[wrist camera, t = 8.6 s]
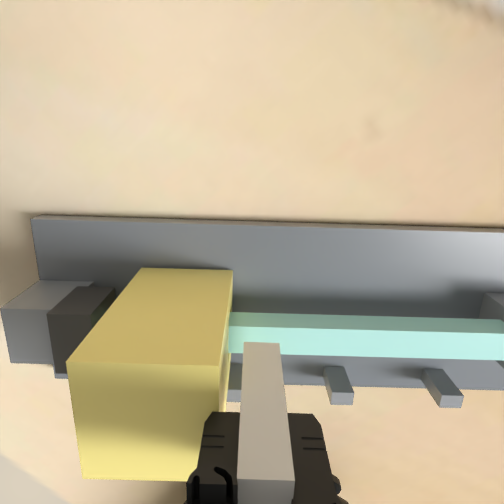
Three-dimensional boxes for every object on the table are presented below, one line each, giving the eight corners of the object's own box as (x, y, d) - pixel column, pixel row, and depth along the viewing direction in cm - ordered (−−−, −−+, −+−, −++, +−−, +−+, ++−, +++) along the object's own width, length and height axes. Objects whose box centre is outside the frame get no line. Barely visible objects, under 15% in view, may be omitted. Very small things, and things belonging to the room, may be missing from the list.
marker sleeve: (141, 267, 21) (65, 361, 12) (232, 270, 21) (219, 365, 12) (146, 347, 22) (82, 478, 14) (231, 349, 22) (218, 481, 14)
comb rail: (40, 214, 21) (-24, 241, 16) (541, 229, 21) (626, 259, 16) (62, 368, 24) (15, 428, 19) (499, 380, 24) (560, 443, 19)
